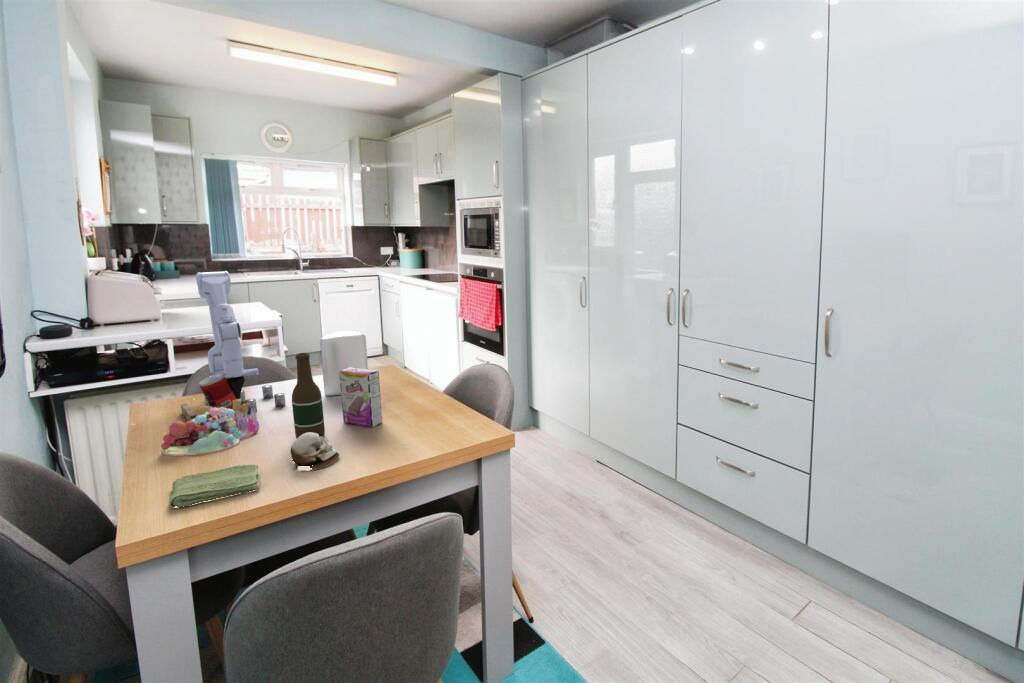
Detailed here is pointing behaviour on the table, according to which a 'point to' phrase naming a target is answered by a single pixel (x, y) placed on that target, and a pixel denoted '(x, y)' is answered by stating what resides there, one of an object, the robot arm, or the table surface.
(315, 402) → the beer bottle
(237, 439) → the candy landscape model
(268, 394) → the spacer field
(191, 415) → the stop batten
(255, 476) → the washcloth
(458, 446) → the table surface
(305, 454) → the skull
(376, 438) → the table surface
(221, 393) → the canned food
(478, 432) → the table surface
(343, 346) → the white tall block
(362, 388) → the candy bar box
